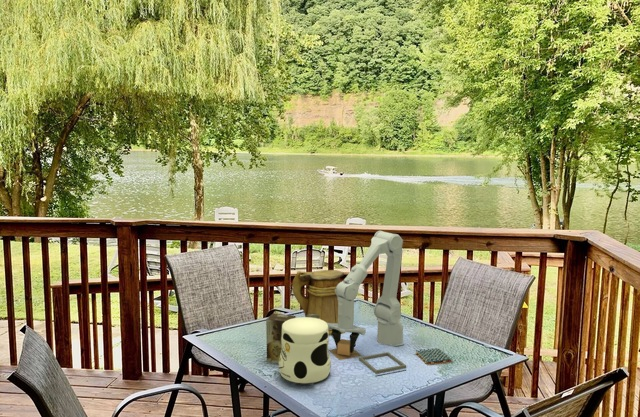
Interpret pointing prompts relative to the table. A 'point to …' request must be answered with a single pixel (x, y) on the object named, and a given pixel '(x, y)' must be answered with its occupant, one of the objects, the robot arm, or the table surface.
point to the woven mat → (433, 356)
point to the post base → (341, 357)
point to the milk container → (304, 351)
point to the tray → (384, 368)
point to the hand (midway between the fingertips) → (345, 350)
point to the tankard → (318, 293)
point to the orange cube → (343, 347)
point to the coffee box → (275, 336)
